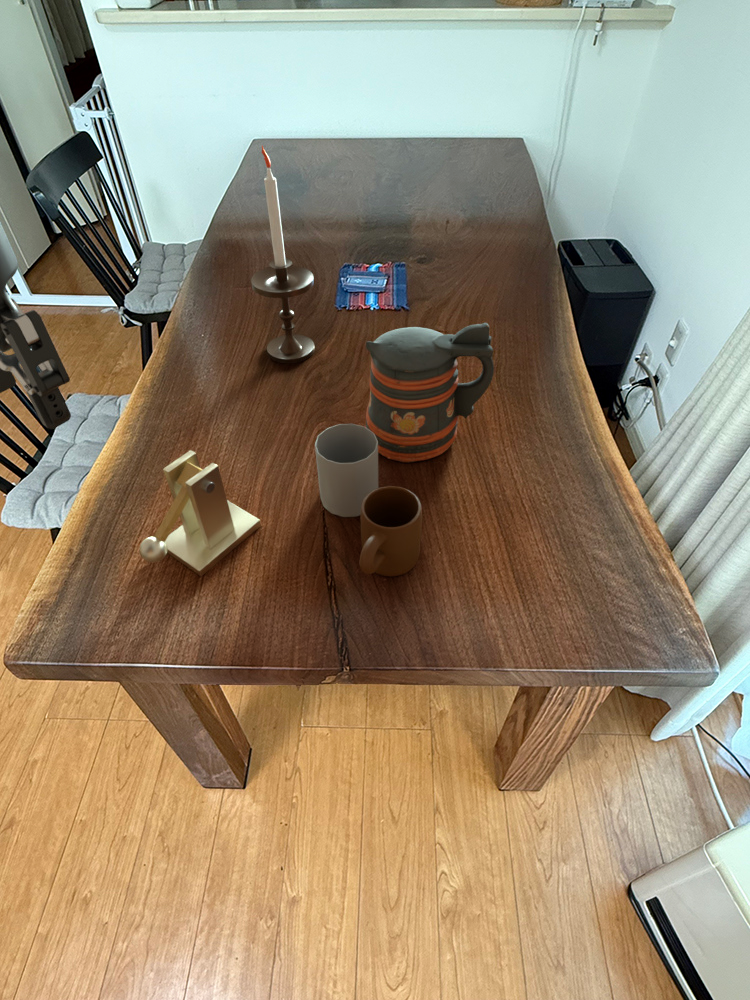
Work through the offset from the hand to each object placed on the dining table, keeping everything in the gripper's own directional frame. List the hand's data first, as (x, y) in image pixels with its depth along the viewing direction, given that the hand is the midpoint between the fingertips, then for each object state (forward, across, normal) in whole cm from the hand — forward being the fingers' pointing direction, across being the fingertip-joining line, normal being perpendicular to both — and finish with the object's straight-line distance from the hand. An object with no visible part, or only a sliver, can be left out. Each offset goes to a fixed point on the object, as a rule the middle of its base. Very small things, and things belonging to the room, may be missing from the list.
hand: (30, 405), depth 52 cm
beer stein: (+30, +11, +49) cm, 59 cm away
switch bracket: (+30, 0, +13) cm, 33 cm away
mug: (+30, +22, +23) cm, 44 cm away
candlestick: (+30, -24, +55) cm, 67 cm away
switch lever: (+23, 0, +10) cm, 25 cm away
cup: (+30, +10, +31) cm, 44 cm away
